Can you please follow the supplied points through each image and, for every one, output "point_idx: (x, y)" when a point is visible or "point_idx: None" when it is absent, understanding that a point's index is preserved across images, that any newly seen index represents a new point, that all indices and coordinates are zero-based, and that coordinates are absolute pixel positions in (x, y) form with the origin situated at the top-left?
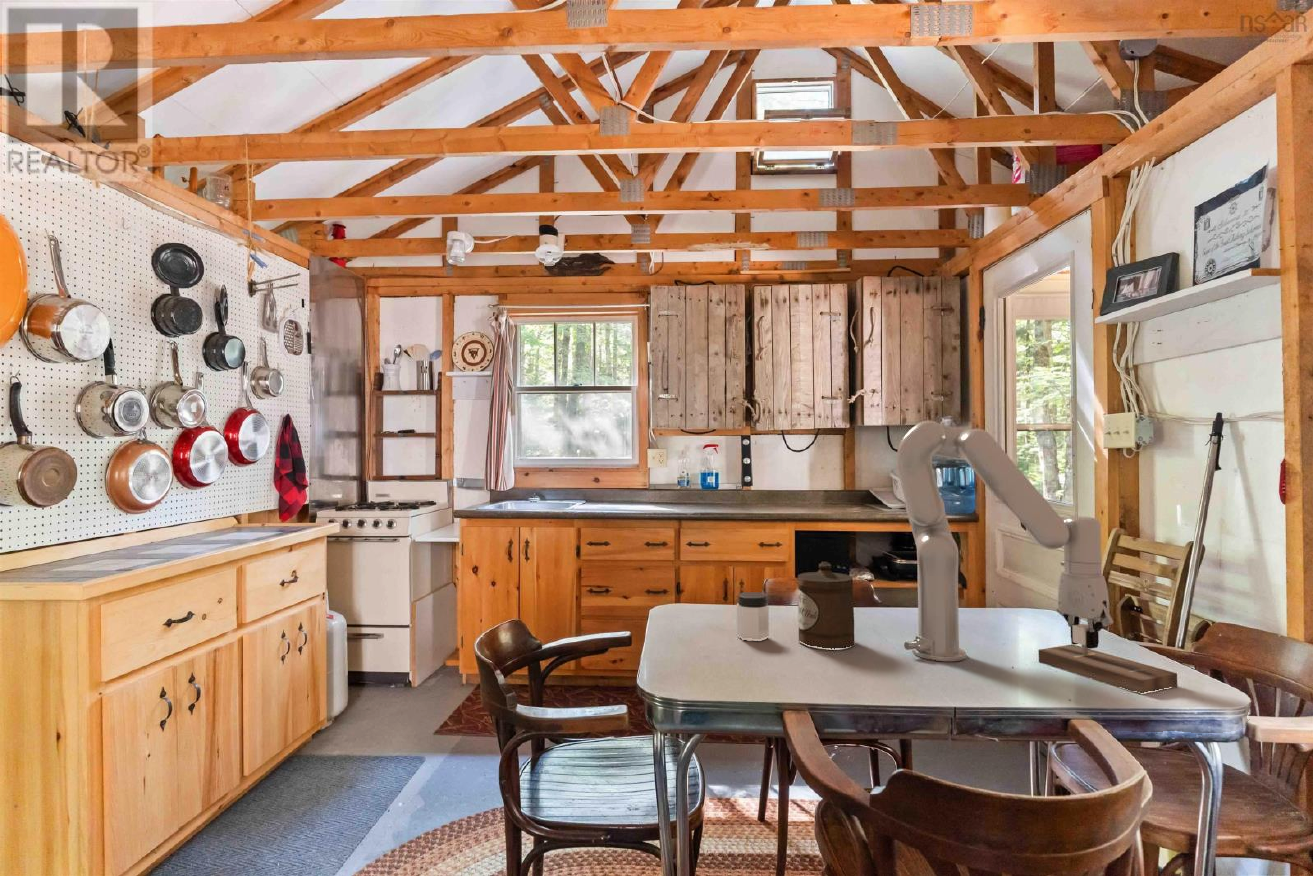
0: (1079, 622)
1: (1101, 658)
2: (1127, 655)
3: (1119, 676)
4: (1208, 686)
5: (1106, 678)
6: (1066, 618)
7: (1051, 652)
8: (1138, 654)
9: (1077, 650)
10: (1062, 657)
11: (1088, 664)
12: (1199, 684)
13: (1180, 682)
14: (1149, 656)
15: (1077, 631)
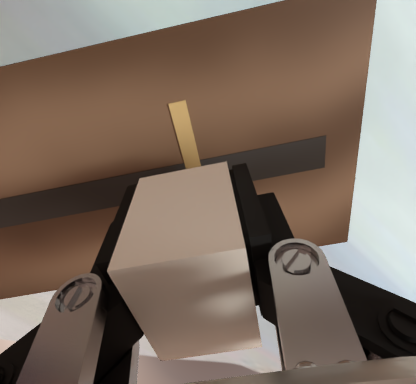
0: (278, 338)
1: None
2: (268, 330)
3: None
4: (18, 324)
5: None
6: (382, 308)
7: (294, 28)
8: (265, 349)
9: None
10: (194, 23)
11: (29, 66)
12: (32, 319)
13: (44, 298)
14: (245, 356)
15: (189, 223)
